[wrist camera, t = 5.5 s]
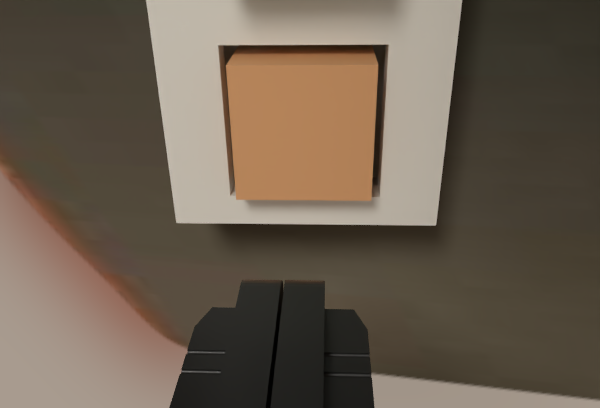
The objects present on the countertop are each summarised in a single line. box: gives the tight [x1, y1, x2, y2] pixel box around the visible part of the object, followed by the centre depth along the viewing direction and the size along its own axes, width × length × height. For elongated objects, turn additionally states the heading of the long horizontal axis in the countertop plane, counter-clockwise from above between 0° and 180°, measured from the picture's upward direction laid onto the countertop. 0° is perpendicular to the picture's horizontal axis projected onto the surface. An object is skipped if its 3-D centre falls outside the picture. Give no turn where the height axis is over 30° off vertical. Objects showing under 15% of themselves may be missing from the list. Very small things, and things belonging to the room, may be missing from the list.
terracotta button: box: [226, 45, 378, 201], centre depth 20 cm, size 5×5×3 cm
